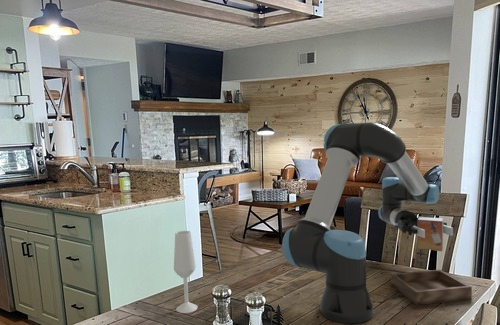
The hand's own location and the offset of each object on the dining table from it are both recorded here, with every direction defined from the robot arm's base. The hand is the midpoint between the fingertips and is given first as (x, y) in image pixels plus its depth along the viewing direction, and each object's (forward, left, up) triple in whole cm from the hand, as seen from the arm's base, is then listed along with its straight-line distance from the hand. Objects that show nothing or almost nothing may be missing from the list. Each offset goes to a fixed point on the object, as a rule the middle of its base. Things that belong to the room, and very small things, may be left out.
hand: (438, 232), depth 134 cm
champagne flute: (-85, -1, -18) cm, 87 cm away
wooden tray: (-7, -6, -18) cm, 20 cm away
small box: (0, +4, -7) cm, 8 cm away
